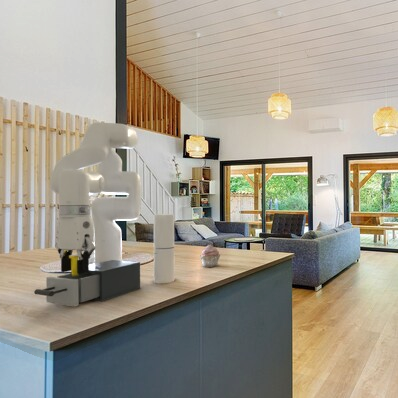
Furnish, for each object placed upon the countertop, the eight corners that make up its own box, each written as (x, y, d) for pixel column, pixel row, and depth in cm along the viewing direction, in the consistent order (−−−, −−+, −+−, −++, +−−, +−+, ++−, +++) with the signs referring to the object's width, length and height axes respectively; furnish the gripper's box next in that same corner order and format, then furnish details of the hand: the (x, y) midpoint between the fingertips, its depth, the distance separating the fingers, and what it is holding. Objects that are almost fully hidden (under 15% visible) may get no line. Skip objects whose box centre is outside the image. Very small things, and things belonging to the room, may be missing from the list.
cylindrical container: (167, 283, 117) (166, 215, 117) (149, 282, 119) (149, 214, 118) (178, 278, 124) (178, 214, 124) (161, 278, 126) (161, 213, 125)
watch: (68, 273, 98) (68, 254, 98) (79, 272, 99) (79, 253, 99) (70, 277, 93) (69, 256, 93) (81, 275, 95) (81, 255, 95)
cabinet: (102, 301, 98) (101, 271, 98) (72, 297, 102) (72, 268, 102) (140, 288, 112) (140, 262, 111) (112, 285, 116) (112, 259, 116)
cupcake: (217, 268, 143) (217, 245, 143) (196, 268, 143) (196, 245, 143) (222, 263, 152) (222, 242, 152) (203, 263, 152) (203, 242, 152)
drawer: (56, 312, 86) (56, 285, 86) (27, 307, 89) (27, 281, 89) (116, 293, 103) (116, 270, 103) (90, 289, 107) (89, 267, 107)
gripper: (107, 211, 97) (107, 271, 97) (66, 210, 103) (67, 267, 103) (83, 212, 90) (83, 277, 90) (41, 211, 95) (41, 272, 96)
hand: (75, 271), depth 96 cm, fingers closed on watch, 5 cm apart
